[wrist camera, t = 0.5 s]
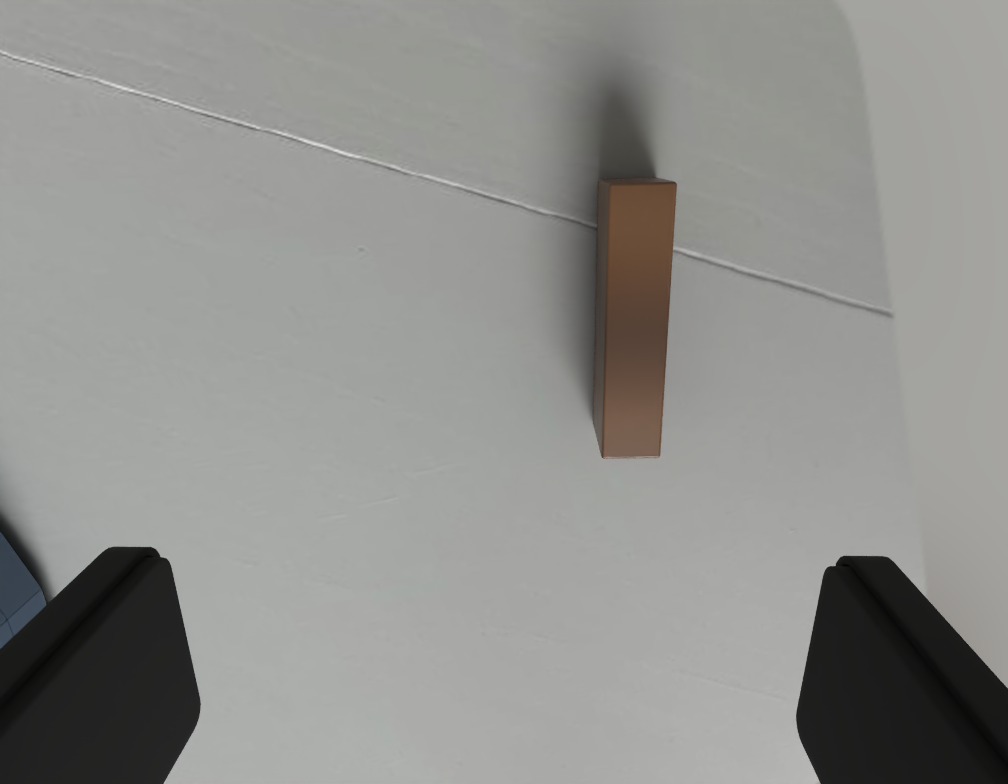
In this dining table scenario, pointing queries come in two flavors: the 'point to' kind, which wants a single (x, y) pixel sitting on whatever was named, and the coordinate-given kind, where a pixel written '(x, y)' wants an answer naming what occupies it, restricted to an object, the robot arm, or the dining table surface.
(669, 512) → the dining table surface
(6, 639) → the round tray
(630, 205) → the brown wooden block
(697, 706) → the dining table surface
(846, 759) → the robot arm
